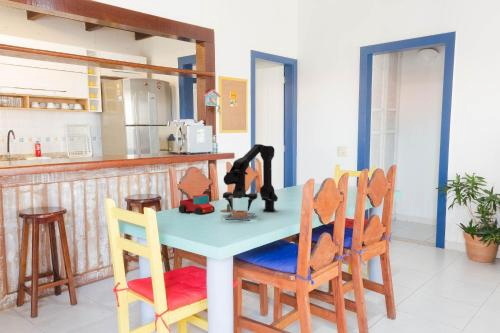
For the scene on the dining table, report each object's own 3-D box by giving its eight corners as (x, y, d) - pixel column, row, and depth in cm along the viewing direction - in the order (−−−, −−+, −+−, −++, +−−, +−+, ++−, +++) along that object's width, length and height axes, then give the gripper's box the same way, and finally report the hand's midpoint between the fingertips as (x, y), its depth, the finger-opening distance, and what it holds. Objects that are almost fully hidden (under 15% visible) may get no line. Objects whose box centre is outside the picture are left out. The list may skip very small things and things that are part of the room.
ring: (235, 215, 223) (235, 210, 222) (247, 215, 221) (247, 210, 221) (232, 218, 215) (232, 213, 214) (244, 218, 213) (244, 213, 213)
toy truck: (200, 217, 221) (200, 197, 220) (177, 212, 234) (177, 194, 233) (215, 213, 231) (215, 195, 230) (193, 209, 243) (192, 191, 242)
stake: (222, 210, 239) (222, 202, 238) (238, 211, 236) (238, 202, 236) (218, 214, 229) (218, 205, 228) (234, 214, 227) (234, 206, 226)
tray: (231, 214, 227) (231, 212, 227) (254, 215, 224) (254, 213, 224) (225, 219, 214) (225, 217, 214) (249, 221, 211) (249, 218, 211)
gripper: (219, 184, 211) (220, 212, 213) (253, 185, 207) (253, 214, 209) (225, 181, 222) (225, 209, 223) (257, 182, 218) (257, 210, 220)
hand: (240, 210), depth 218 cm, fingers open, 9 cm apart
